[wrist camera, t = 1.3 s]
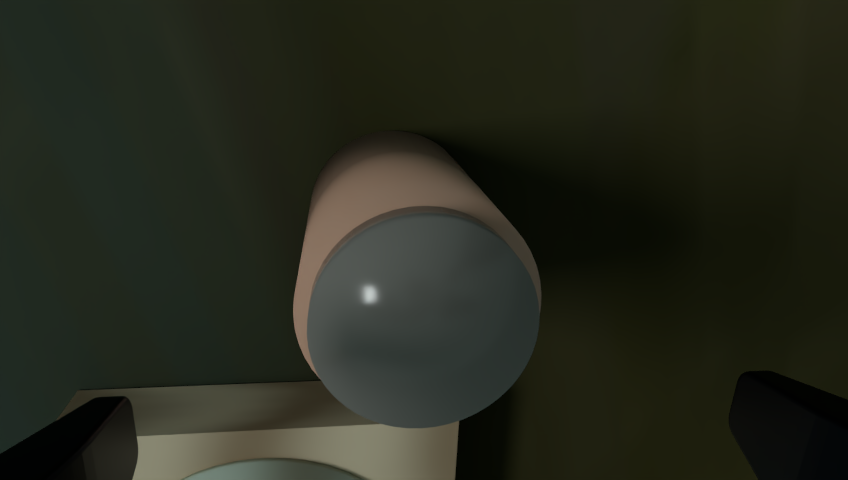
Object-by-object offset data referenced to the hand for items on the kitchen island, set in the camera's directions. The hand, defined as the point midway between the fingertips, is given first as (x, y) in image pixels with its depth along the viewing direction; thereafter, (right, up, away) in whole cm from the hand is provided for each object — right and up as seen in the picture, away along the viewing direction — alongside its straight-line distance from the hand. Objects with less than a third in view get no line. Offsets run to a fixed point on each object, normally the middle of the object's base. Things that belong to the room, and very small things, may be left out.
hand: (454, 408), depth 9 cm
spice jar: (-1, +3, +10) cm, 10 cm away
